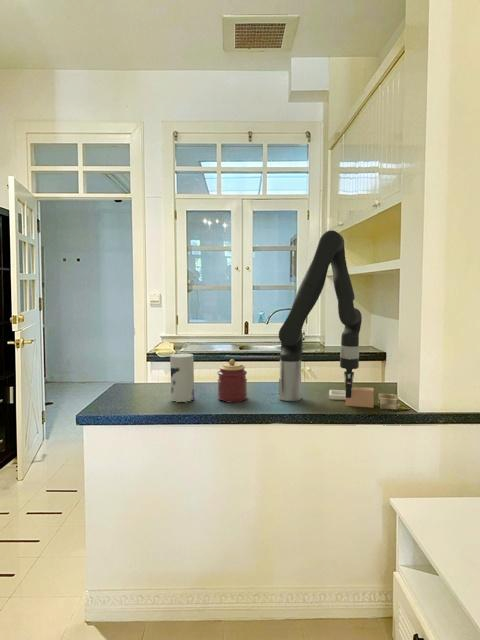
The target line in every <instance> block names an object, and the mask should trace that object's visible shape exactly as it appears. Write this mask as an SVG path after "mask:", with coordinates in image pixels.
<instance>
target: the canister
mask: <svg viewBox="0 0 480 640" xmlns="http://www.w3.org/2000/svg"><path fill="white" fill-rule="evenodd" d="M245 368H246V367H245V366H244V365H243V364H242V363H239V362H236V361H235V359H233V358H232V359H230V360H229V362H226V363H222V364H221V365H220V366H219V371H217V375H218V379H217V397H218V398H219V399H220V400H223V401H231V402H230V403H239V402H238V401H241V402H244V401H246V400H247V399H246V398H248V391H247V389H248V385H247V381H248V379H247V374H248V372H247V371H246V370H245ZM218 398H217V399H218ZM219 399H218V400H219ZM245 399H246V400H245ZM220 400H219V401H220ZM243 400H244V401H243ZM223 401H222V402H223Z"/></svg>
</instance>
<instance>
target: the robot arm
mask: <svg viewBox="0 0 480 640" xmlns="http://www.w3.org/2000/svg"><path fill="white" fill-rule="evenodd" d="M345 251H346V250H345V239H344V237H343V236H342V235H341V234H340V233H339V232H338V231H336V230H332V229H331V230H327V231H325V232H324V233H323V234H322V235H321V236H320V238H319V240H318V243H317V247H316V250H315V252H314V256H313V257H312V260H311V263H310V265H309V266H308V268H307V271H306V272H305V274H304V276H303V278H302V281H301V282H300V285H299V287H298V290H297V292H296V294H295V297H294V299H293V302H292V306H291V309H290V310H289V312H288V315H287V317H286V319H285V321H284V322H283V324H282V325H281V327H280V329H279V331H278V339H279V342H280V343H281V344H280V346H281V347H280V352H279V378H278V400H280V401H286V402H296V401H300V400H301V399H302V353H303V331H302V329H303V326H304V325H305V321H306V319H307V317H308V316H309V315H310V313H311V311H312V310H313V309H314V308H315V307H314V306H315V305H316V304H317V302H318V300H319V297H320V295H321V294H322V291H323V289H324V286H325V284H326V279H327V275H328V274H327V273H328V271H329V270H328V269H329V267H330V266H331V271H332V279H333V282H332V283H333V287H334V291H335V295H336V296H335V297H336V299H337V310H338V317H339V320H340V322H341V323H342V324H343V325H344V330H343V331H342V332H341V337H340V339H341V343H340V349H339V350H340V351H339V352H340V353H339V355H340V356H339V358H340V359H339V367H340V368H341V369H344V370H345V371H343V372H344V373H343V377H344V384H345V386H344V387H345V391H346V398H351V389H352V387H353V384H354V378H355V371H353V370H358V369H359V367H360V347H359V346H360V345H359V343H360V337H359V336H360V331H361V327H362V321H363V320H362V318H363V317H362V313H361V311H360V310H359V309H358V308H355V306H354V300H355V298H356V297H355V292H354V288H353V285H352V281H351V277H350V273H349V271H348V266H347V265H348V264H347V260H346V252H345Z"/></svg>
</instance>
